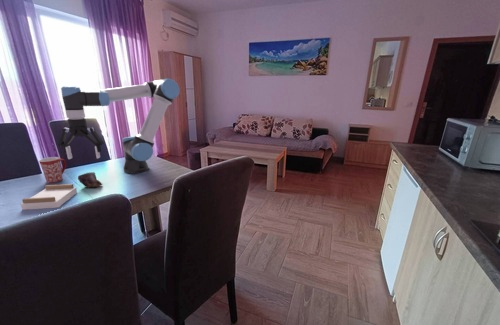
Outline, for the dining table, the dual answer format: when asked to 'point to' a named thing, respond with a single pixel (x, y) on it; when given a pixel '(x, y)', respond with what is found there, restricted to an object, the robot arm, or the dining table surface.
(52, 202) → the display stand
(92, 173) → the rock
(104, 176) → the dining table surface
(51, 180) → the mug
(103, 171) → the dining table surface
